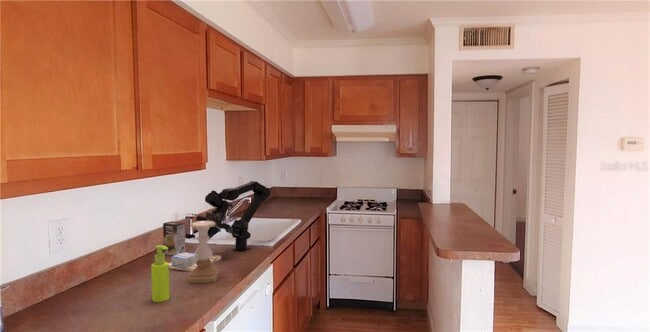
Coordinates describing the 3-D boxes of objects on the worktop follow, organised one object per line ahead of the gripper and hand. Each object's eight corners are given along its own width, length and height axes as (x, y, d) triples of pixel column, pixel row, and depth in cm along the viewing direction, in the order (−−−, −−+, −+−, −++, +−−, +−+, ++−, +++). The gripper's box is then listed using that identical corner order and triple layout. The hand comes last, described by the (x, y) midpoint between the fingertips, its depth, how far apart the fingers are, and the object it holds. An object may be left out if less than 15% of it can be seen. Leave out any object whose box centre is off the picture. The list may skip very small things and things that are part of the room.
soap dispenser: (160, 304, 136) (158, 249, 135) (148, 299, 140) (147, 246, 139) (174, 298, 141) (173, 245, 140) (163, 294, 145) (161, 242, 144)
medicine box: (197, 253, 178) (185, 258, 169) (198, 262, 178) (185, 268, 170) (184, 251, 180) (170, 256, 172) (184, 260, 181) (171, 266, 172)
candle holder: (193, 274, 167) (192, 220, 165) (219, 273, 168) (218, 220, 166) (187, 283, 156) (186, 226, 154) (214, 282, 157) (213, 225, 155)
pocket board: (194, 255, 194) (194, 252, 194) (221, 258, 188) (221, 255, 188) (166, 267, 175) (165, 264, 175) (194, 271, 170) (194, 268, 170)
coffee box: (163, 254, 196) (162, 223, 195) (172, 250, 202) (171, 220, 201) (176, 256, 192) (176, 224, 191) (186, 252, 198) (185, 222, 197)
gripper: (198, 200, 188) (183, 229, 181) (231, 210, 183) (216, 240, 176) (207, 209, 197) (193, 237, 191) (238, 218, 192) (225, 247, 186)
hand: (206, 240), depth 186 cm, fingers closed
